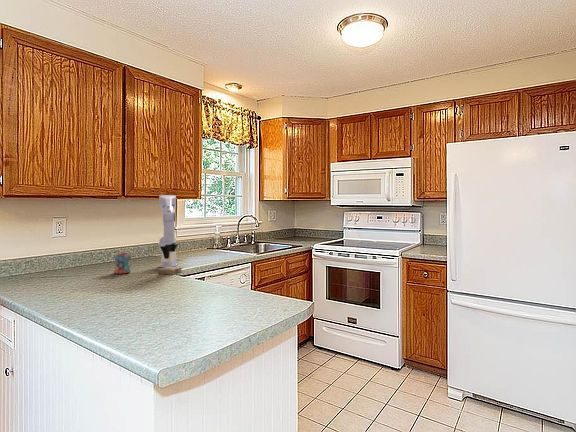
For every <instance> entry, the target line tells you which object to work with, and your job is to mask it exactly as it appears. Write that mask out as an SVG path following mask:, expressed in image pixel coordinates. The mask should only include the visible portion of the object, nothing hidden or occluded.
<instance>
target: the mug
mask: <svg viewBox="0 0 576 432" xmlns="http://www.w3.org/2000/svg"><path fill="white" fill-rule="evenodd" d="M112 256H113V258H114V261H115V269H114V270H113V273H114V274H118V275H125V274H129V273H131V266H133V265H134V264H135V263H136V262H137V256H135V255H132V253H130V252H118V253H113V254H112ZM132 257H134V258H135V259H134V261H133V263H131V264H130V260H131V259H132Z"/></svg>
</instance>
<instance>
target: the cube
mask: <svg viewBox="0 0 576 432" xmlns="http://www.w3.org/2000/svg"><path fill="white" fill-rule="evenodd" d="M175 253H176V251H175V252H169V258H168V259H165V258H164V254H163V252H162V261H164V262H171V261H175Z"/></svg>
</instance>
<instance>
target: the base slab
mask: <svg viewBox="0 0 576 432" xmlns="http://www.w3.org/2000/svg"><path fill="white" fill-rule="evenodd" d="M181 272H182V267H181V266H173V267H160V268H158V272H157V274H158V275H171V276H173V275H176V274H178V273H181Z"/></svg>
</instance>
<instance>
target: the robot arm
mask: <svg viewBox="0 0 576 432" xmlns="http://www.w3.org/2000/svg"><path fill="white" fill-rule="evenodd" d="M158 197H159V199H158V200H159V201H158V204H159V206H158V207H159V209H160V210H161V211H162V212H163V213H162V223H163V236H162V237H160V238H159V242H158V243H159V244H158V249H159V250H158V251H159V252H160V253H161V255H160V256H161V257H160V259H161V260H160V261H161V262H160V263H161V265H158V267H159V268H164V267H178V264H177V253H176V251H177V247H178V244H177V242H178V241H177V240H176V238H175V223H176V212H175V209H176V205H177V196H176V195H175V194H173V195H172V194H171V195H170V194H169V195H168V194H166V195H165V194H159V196H158ZM162 252H163V254H164V258H165V259H168V258H169V252H175V261H171V262H164V261H162Z"/></svg>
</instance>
